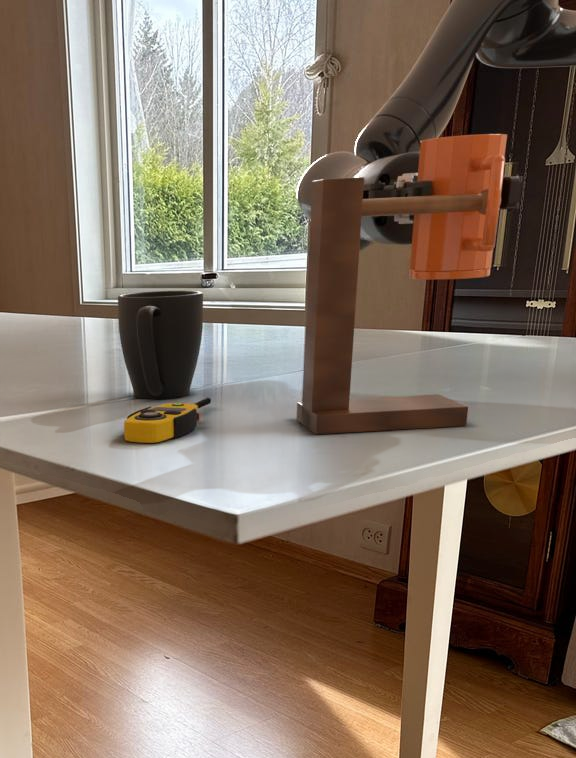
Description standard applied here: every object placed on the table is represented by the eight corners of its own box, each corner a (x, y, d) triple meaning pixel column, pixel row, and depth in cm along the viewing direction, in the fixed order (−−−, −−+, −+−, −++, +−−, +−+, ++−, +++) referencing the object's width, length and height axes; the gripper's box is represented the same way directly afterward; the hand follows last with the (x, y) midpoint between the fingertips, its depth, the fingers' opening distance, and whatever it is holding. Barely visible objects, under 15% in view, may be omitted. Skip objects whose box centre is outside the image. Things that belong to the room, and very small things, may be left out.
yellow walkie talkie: (110, 417, 72) (184, 386, 84) (111, 441, 73) (185, 407, 85) (166, 420, 70) (234, 388, 82) (167, 445, 71) (234, 409, 83)
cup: (398, 276, 78) (409, 143, 73) (470, 272, 78) (485, 139, 74) (445, 283, 68) (461, 131, 64) (527, 279, 68) (548, 126, 64)
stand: (458, 410, 78) (485, 173, 70) (490, 424, 72) (523, 168, 65) (296, 420, 77) (306, 182, 70) (315, 434, 72) (329, 177, 64)
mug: (100, 408, 86) (96, 301, 82) (132, 387, 97) (129, 291, 93) (186, 409, 84) (185, 299, 80) (209, 387, 95) (209, 289, 91)
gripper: (320, 158, 84) (382, 143, 68) (475, 151, 84) (571, 134, 69) (316, 247, 87) (374, 252, 71) (465, 240, 87) (554, 242, 72)
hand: (470, 194), depth 70 cm, fingers closed on cup, 6 cm apart
